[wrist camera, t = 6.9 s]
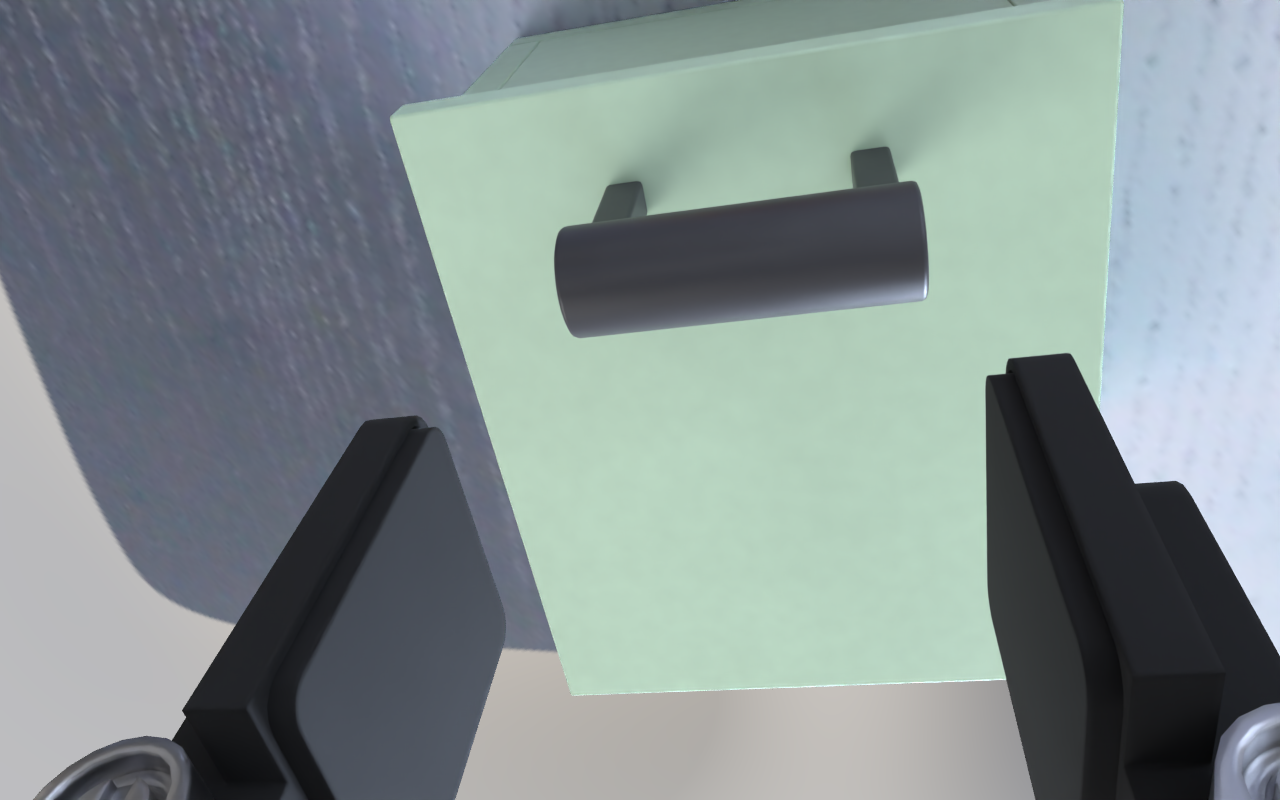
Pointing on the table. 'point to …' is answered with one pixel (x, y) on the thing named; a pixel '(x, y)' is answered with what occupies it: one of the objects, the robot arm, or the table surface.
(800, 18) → the green hinged box
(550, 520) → the lid
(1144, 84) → the table surface
